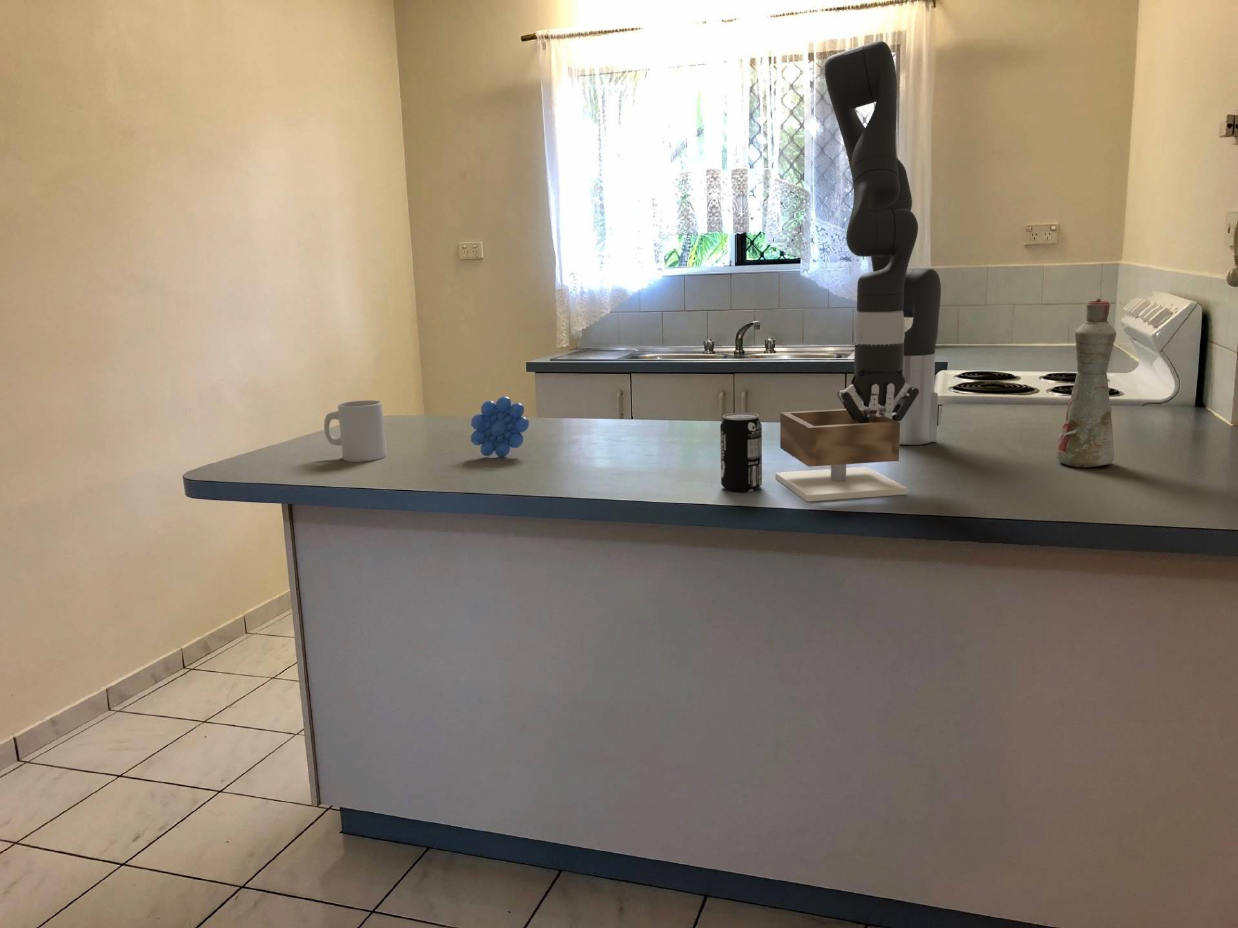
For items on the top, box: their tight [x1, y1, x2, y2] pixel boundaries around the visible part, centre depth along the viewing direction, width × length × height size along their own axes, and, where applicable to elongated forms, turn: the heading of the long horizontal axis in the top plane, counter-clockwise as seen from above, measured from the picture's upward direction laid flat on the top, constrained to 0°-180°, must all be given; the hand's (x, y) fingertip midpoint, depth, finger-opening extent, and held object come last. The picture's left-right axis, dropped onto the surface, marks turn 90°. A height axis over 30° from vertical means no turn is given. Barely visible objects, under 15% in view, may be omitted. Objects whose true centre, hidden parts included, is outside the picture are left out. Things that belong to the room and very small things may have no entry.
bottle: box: [1056, 298, 1117, 468], centre depth 159 cm, size 9×9×28 cm
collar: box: [779, 407, 900, 468], centre depth 152 cm, size 14×14×6 cm
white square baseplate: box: [774, 464, 908, 502], centre depth 152 cm, size 16×16×9 cm
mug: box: [323, 400, 387, 463], centre depth 190 cm, size 12×8×11 cm
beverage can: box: [719, 412, 763, 493], centre depth 153 cm, size 7×7×12 cm
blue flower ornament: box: [470, 395, 530, 458], centre depth 186 cm, size 12×7×12 cm, turn 86°
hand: (876, 448), depth 153 cm, fingers closed on collar, 1 cm apart
